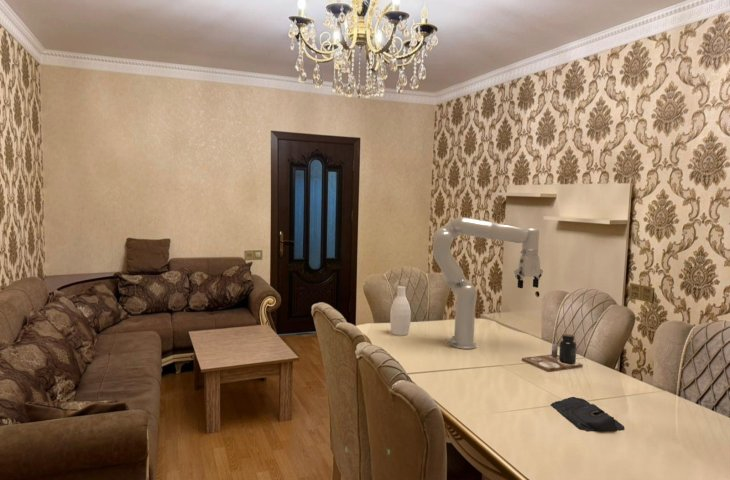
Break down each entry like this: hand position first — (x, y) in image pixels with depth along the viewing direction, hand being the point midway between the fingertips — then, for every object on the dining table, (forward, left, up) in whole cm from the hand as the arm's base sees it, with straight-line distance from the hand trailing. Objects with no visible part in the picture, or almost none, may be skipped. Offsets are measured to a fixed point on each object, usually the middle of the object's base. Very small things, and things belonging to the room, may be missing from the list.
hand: (527, 287), depth 238 cm
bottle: (-48, +42, -31) cm, 71 cm away
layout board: (-6, -24, -30) cm, 39 cm away
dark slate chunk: (-38, -71, -31) cm, 86 cm away
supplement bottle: (-1, -28, -29) cm, 40 cm away
